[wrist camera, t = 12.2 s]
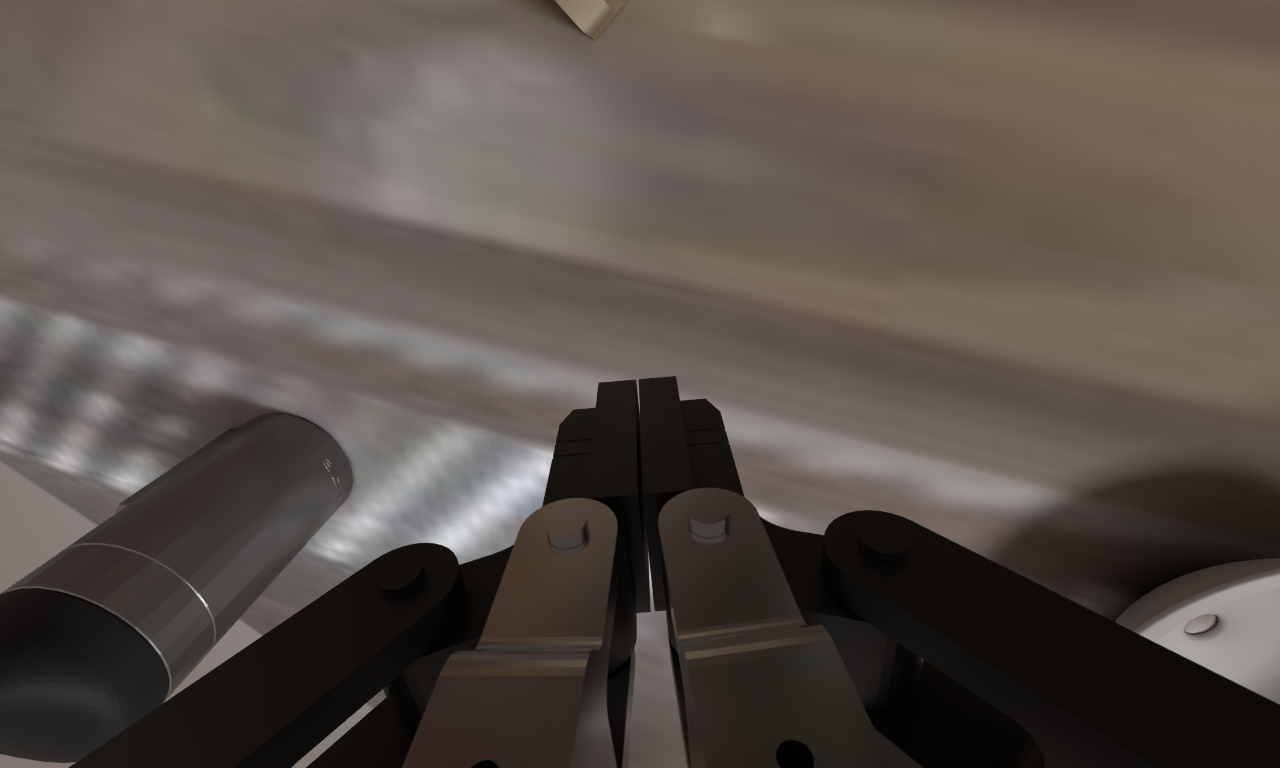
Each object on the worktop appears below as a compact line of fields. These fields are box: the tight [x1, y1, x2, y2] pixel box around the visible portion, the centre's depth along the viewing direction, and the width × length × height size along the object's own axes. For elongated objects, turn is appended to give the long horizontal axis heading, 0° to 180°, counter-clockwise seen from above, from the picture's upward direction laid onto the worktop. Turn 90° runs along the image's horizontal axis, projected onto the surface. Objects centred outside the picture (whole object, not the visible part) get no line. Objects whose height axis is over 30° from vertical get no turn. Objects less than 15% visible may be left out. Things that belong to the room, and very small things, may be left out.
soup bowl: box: [1115, 558, 1280, 704], centre depth 40 cm, size 24×24×7 cm
